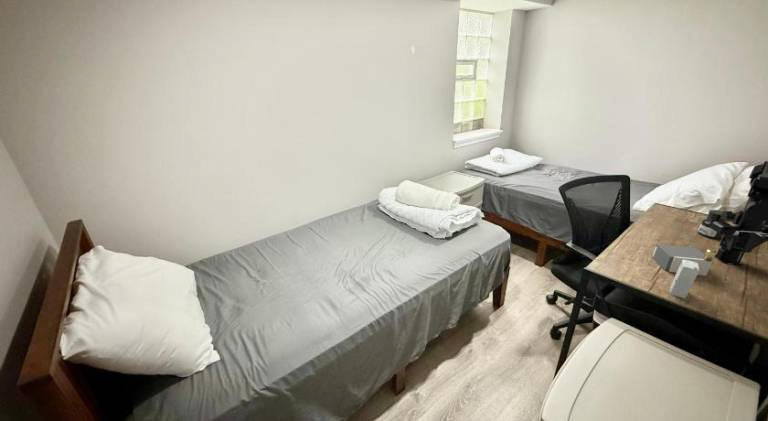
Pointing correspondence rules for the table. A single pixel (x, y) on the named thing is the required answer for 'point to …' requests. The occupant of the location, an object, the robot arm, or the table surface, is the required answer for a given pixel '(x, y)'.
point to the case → (674, 254)
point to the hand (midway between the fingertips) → (737, 250)
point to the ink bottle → (706, 223)
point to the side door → (703, 263)
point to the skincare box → (684, 278)
